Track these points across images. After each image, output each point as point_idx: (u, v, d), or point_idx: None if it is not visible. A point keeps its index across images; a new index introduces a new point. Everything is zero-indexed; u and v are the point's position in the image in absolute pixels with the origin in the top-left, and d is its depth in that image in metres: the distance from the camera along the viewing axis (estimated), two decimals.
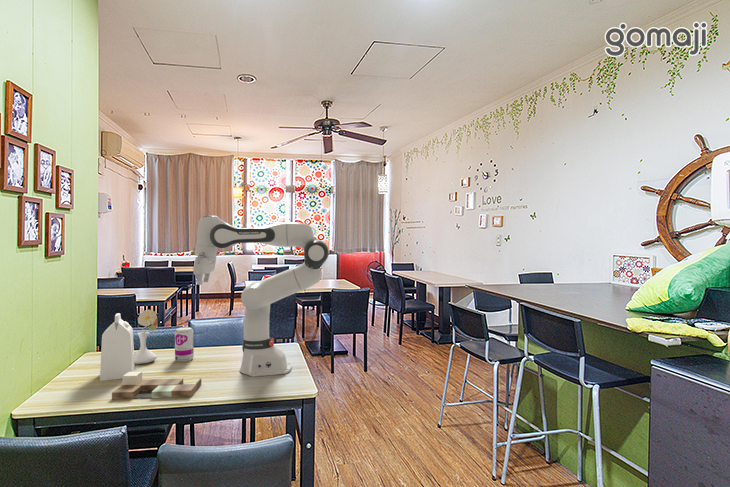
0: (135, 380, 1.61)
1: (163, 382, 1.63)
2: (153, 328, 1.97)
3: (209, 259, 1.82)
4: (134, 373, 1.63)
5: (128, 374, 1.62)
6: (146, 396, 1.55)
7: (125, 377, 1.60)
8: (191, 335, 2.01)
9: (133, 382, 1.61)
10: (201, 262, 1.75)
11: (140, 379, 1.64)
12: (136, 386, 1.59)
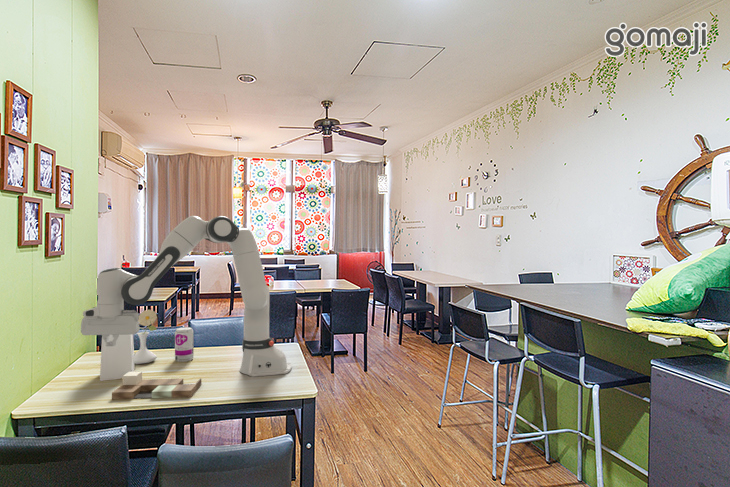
0: (135, 380, 1.61)
1: (163, 382, 1.63)
2: (153, 328, 1.97)
3: None
4: (134, 373, 1.63)
5: (128, 374, 1.62)
6: (146, 396, 1.55)
7: (125, 377, 1.60)
8: (191, 335, 2.01)
9: (133, 382, 1.61)
10: None
11: (140, 379, 1.64)
12: (136, 386, 1.59)
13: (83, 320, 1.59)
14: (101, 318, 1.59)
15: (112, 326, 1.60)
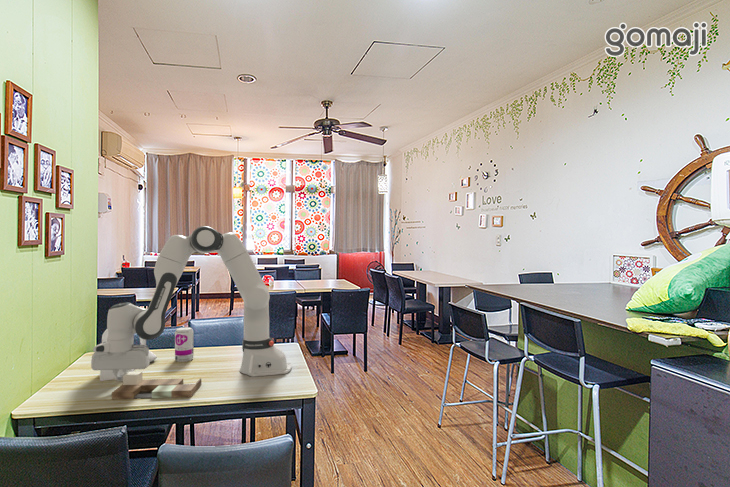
0: (135, 380, 1.61)
1: (163, 382, 1.63)
2: None
3: None
4: (134, 373, 1.63)
5: (128, 374, 1.62)
6: (146, 396, 1.55)
7: (125, 377, 1.60)
8: (191, 335, 2.01)
9: (133, 382, 1.61)
10: None
11: (140, 379, 1.64)
12: (136, 386, 1.59)
13: (93, 355, 1.59)
14: (111, 353, 1.60)
15: (122, 361, 1.61)
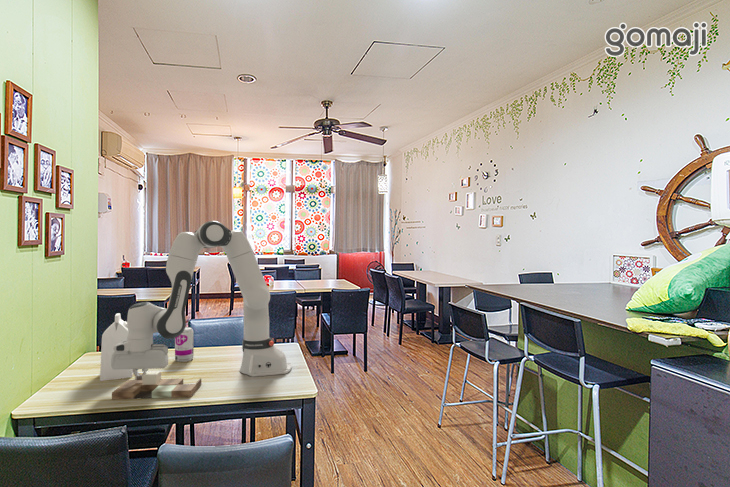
0: (154, 380, 1.61)
1: (163, 382, 1.63)
2: None
3: None
4: (153, 373, 1.64)
5: (147, 374, 1.63)
6: (146, 396, 1.55)
7: (145, 377, 1.61)
8: (191, 335, 2.01)
9: (152, 381, 1.61)
10: None
11: (159, 379, 1.65)
12: (136, 386, 1.59)
13: (113, 355, 1.60)
14: (131, 352, 1.61)
15: (142, 360, 1.62)
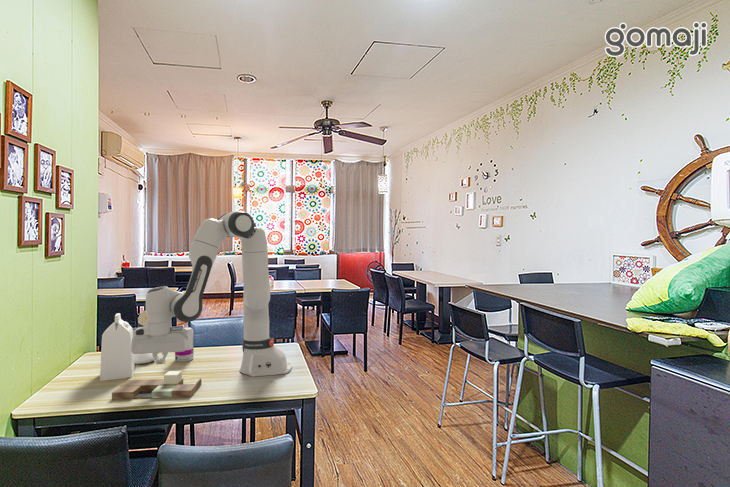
0: (176, 379, 1.62)
1: (163, 382, 1.63)
2: None
3: None
4: (174, 372, 1.64)
5: (169, 373, 1.63)
6: (146, 396, 1.55)
7: (166, 376, 1.61)
8: (191, 335, 2.01)
9: (174, 381, 1.62)
10: None
11: (180, 378, 1.65)
12: (136, 386, 1.59)
13: (133, 339, 1.60)
14: (151, 336, 1.61)
15: (162, 344, 1.62)
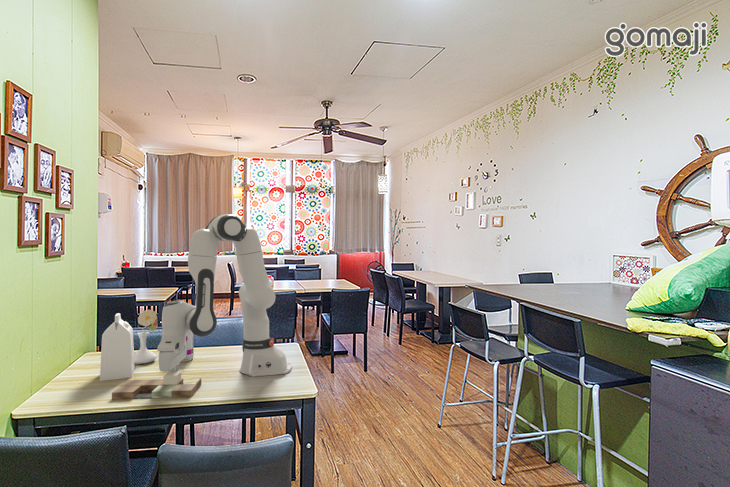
0: (175, 380, 1.61)
1: None
2: (153, 328, 1.97)
3: None
4: (174, 373, 1.64)
5: (168, 374, 1.63)
6: (146, 396, 1.55)
7: (165, 377, 1.61)
8: (191, 335, 2.01)
9: (173, 381, 1.61)
10: None
11: (180, 379, 1.65)
12: (136, 386, 1.59)
13: (172, 355, 1.59)
14: (177, 349, 1.66)
15: (179, 354, 1.69)
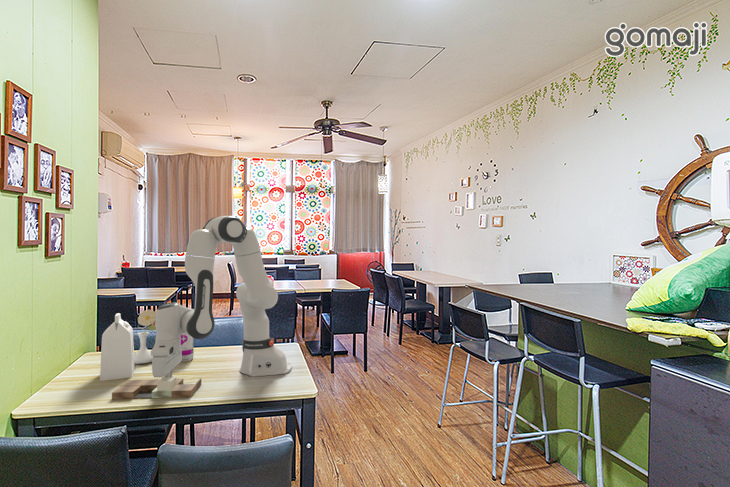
0: (170, 386, 1.56)
1: None
2: (153, 328, 1.97)
3: None
4: (168, 378, 1.58)
5: (162, 379, 1.57)
6: (146, 396, 1.55)
7: (159, 383, 1.55)
8: None
9: (167, 387, 1.55)
10: None
11: (174, 385, 1.59)
12: (136, 386, 1.59)
13: (166, 360, 1.53)
14: (172, 353, 1.59)
15: (174, 359, 1.63)
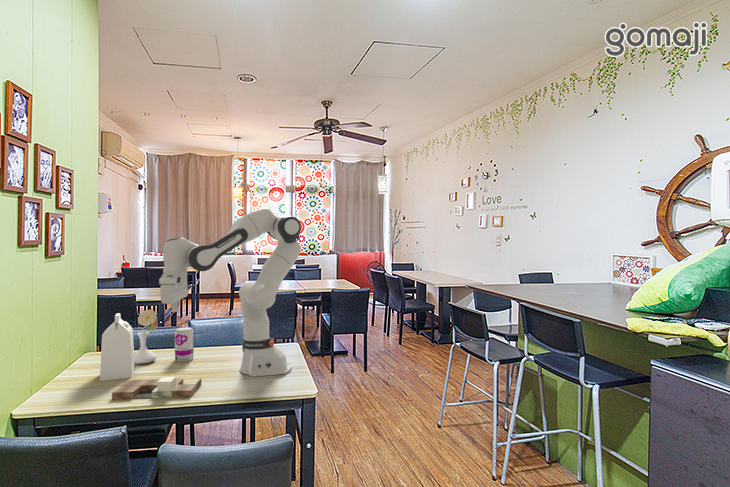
0: (169, 386, 1.55)
1: None
2: (153, 328, 1.97)
3: None
4: (168, 379, 1.58)
5: (162, 380, 1.57)
6: (146, 396, 1.55)
7: (159, 383, 1.55)
8: (191, 335, 2.01)
9: (167, 388, 1.55)
10: None
11: (174, 385, 1.59)
12: (136, 386, 1.59)
13: (173, 288, 1.61)
14: (179, 284, 1.68)
15: (181, 291, 1.71)
